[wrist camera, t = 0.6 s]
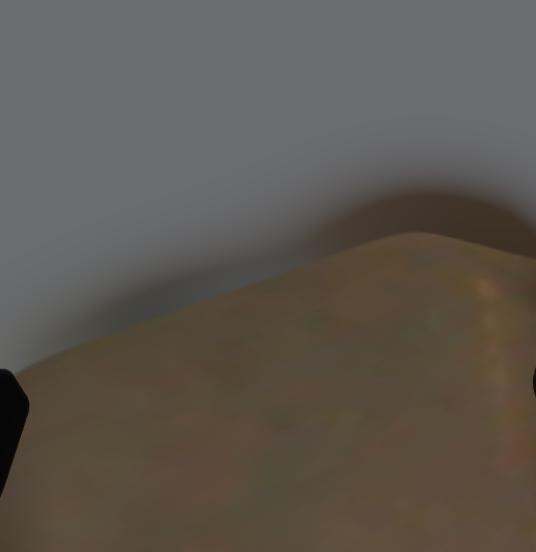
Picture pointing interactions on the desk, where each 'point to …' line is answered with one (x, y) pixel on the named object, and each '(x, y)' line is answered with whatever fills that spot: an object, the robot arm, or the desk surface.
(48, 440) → the desk surface
